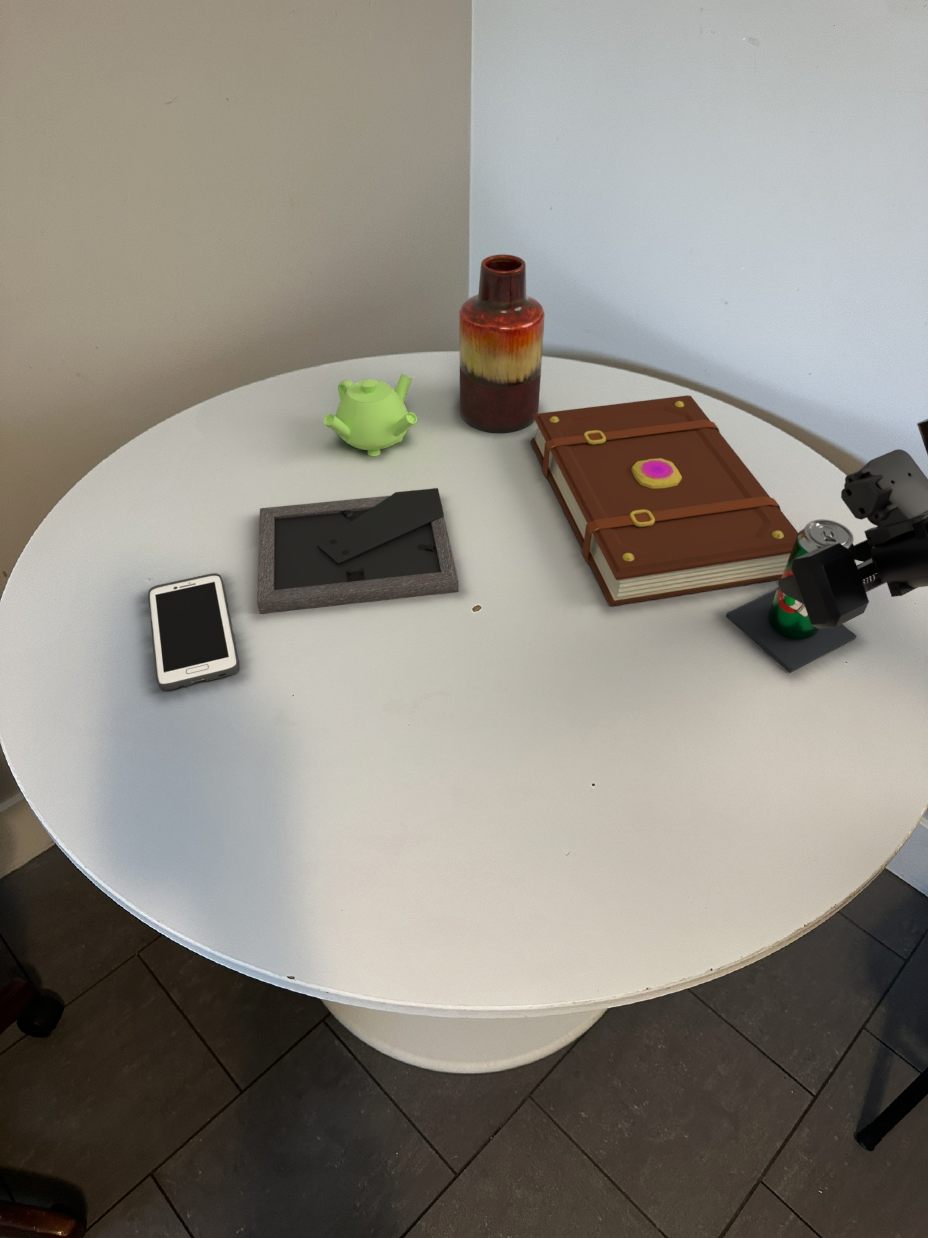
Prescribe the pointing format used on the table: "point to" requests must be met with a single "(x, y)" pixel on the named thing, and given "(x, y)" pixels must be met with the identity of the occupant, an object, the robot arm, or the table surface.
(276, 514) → the picture frame
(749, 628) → the coaster mat
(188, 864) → the table surface
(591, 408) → the book
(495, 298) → the vase
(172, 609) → the cell phone
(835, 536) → the soda can
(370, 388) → the teapot
